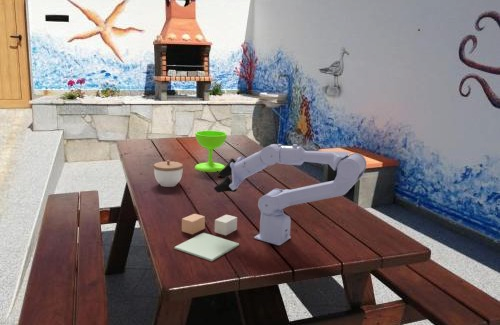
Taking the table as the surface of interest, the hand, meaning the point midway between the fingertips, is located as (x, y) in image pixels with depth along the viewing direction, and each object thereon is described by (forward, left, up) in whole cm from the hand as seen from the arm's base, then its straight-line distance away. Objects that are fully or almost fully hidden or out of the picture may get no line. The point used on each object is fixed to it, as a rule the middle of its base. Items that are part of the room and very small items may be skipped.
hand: (218, 182), depth 151 cm
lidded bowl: (+46, -26, -16) cm, 55 cm away
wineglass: (+50, -62, -16) cm, 81 cm away
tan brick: (+4, +8, -16) cm, 18 cm away
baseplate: (-8, +16, -15) cm, 24 cm away
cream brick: (-5, +2, -16) cm, 16 cm away
